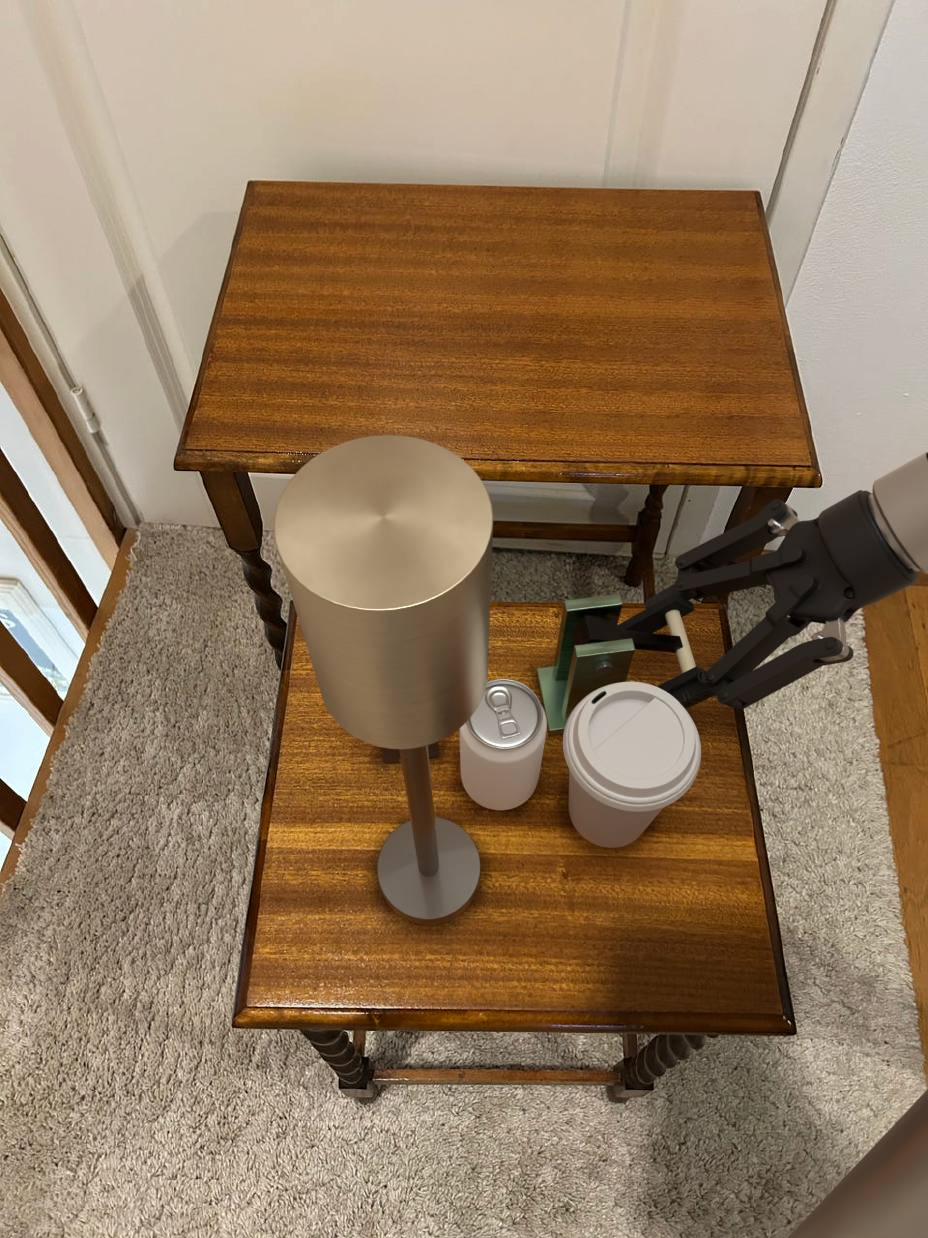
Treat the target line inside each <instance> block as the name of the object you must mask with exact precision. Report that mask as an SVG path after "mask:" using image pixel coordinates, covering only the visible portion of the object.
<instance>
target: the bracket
mask: <svg viewBox="0 0 928 1238" xmlns="http://www.w3.org/2000/svg"><path fill="white" fill-rule="evenodd" d="M623 605H624V603H623V600H622V596H621V593H616V594H606V595H599V596H591V597H582V598H581V597H580V598H574V599H566V600H563V605H562V612H561V618H560V624H559V631H558V637H557V643H556V649H555V656H554V661H553V665H552V666H545V667H543V666H542V667H537V668H536V673H535V675H536V681H537V686H538V692H539V696H540V703H541V705H542V707H543V709H544V712H545V715H546V721H547V729H546V732H547V735H548V737H553V736H559V735H564V729H565V726H566V723H567V720H568V718H569V716H570V714H571V712H572V711H573V710H574V708H575V707H576V706H577V705H578V704H579V702H581V701H582V700H583V699H584V698H585V697H586V696H587V695H589V694H590V693H592V692H593V691H595V690H597V689H599V688H601V687H604V686H607V685H610V684H614V683H621V682H627V678H628V674H629V671H630V669H631V664H632V662H633V658H634V655H635V651H636V649H635V647H634V643H633V639H632V638H631V639H623V640H615V641H607V642H599V643H591V644H583V645H575V646H574V642H573V638H572V633H571V630H572V629H573V628H574V627H575V626H576V625H577V624H578V623H579V622H580V620H581V619H582V618H583V617H584V616H585V615H591V616H600V617H609V618H616V619H617V623H618V624H619V621H620V617H621V612H622V610H623V609H622V608H623Z"/></svg>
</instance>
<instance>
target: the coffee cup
mask: <svg viewBox="0 0 928 1238" xmlns="http://www.w3.org/2000/svg"><path fill="white" fill-rule="evenodd" d="M656 686H657V685H653V684H650V683H646V682H641V681H625V682H621V683H614V684H610V685H607V686H604V687H601V688H599V689H597V690H595V691H593V692H592V693H590V694H589V695H587V696H586V697H585V698H584V699H583V700H582V701H581V702H579V704H578V705H577V706H576V707H575V708H574V710H573V711H572V712H571V714H570V716H569V718H568V720H567V723H566V726H565V729H564V734H562V735H563V737H562V749H563V755H564V760H565V762H566V765H567V768H568V814H569V818H570V821H571V823H572V825H573V827H574V829H575V830H576V831H577V833H578V834H579V835H580V837H582V838H583V839H585V840H586V841H587V842H589V843H591V844H593V845H595V846H598V847H601V848H607V849H616V848H622V847H625V846H628V845H630V844H632V843H634V842H635V841H637V839H639V837H641V835H642V834H643V833H644V832H645V830H646V829H647V828H648V827H649V826H650V825H651V823H652V822H653V821H654V820H655V819H656V817H657V816H658V815H659V814H660V813H661V812H662V810H663V809H664V808H665V807H667V806H670V805H671V804H673V803H674V802H676V801H677V800H679V799H681V797H683V796H684V795H685V794H686V793H687V792H688V791H689V790H690V788H691V787H692V785H694V782H695V780H696V778H697V776H698V773H699V772H700V771H699V770H700V767H701V762H702V745H701V738H700V735H699V731H698V729H697V725H696V724H695V722H694V720H693V719H692V717H691V715H690V714H689V712H688V711H687V710H686V709H687V708H684V707H683V706H682V705H681V704H680V703H679V702H678V701H677V700H676V699H675V698H674V697H673V696H672V695H670V694H669V693H667V692H666V691H664V690H662V689H660V688H658V687H656Z"/></svg>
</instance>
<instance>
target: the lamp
mask: <svg viewBox="0 0 928 1238" xmlns="http://www.w3.org/2000/svg"><path fill="white" fill-rule="evenodd" d="M493 532H494V511H493V504H492V501H491V497H490V494H489V492H488V489H487V487H486V485H485V483H484V482H483V480H482V479H481V477H480V476H479V474H478V473H477V472H476V471H475V469H473V467H472V466H471V465H470V464H469V463H468V462H466V460H464V459H463V458H462V457H460V456H459V455H457V454H456V453H454V452H453V451H451V450H450V449H448V448H446V447H443V446H442V445H440V444H437V443H435V442H432V441H430V440H426V439H422V438H419V437H415V436H414V437H413V436H408V435H399V434H382V435H381V434H380V435H369V436H363V437H359V438H355V439H351V440H347V441H345V442H342V443H339V444H336V445H334V446H332V447H330V448H327V449H326V450H324V451H322V452H321V453H319V454H318V455H316V456H315V457H313V458H311V459H310V460H308V461H307V462H306V463H305V464H304V465H303V466H302V467H300V468H299V470H297V472H296V473H295V474H294V475H293V476H292V477H291V479H290V480H289V482H288V483H287V484H286V486H285V487H284V489H283V491H282V492H281V494H280V496H279V500H278V502H277V504H276V509H275V512H274V517H273V537H274V544H275V548H276V550H277V554H278V557H279V560H280V563H281V566H282V571H283V573H284V576H285V580H286V584H287V586H288V590H289V594H290V597H291V600H292V603H293V607H294V609H295V613H296V616H297V620H298V622H299V626H300V629H301V632H302V636H303V639H304V643H305V647H306V649H307V652H308V656H309V659H310V662H311V666H312V669H313V672H314V676H315V679H316V682H317V685H318V688H319V691H320V695H321V698H322V701H323V703H324V705H325V708H326V709H327V711H328V713H329V714H330V716H331V718H332V719H333V720H334V721H335V722H336V723H337V724H338V725H339V727H340V728H342V729H343V730H344V731H345V732H346V733H348V734H350V735H351V736H352V737H354V738H356V739H358V740H360V741H362V742H363V743H366V744H369V745H372V746H375V747H379V748H381V747H383V748H389V749H399V752H400V756H399V759H400V763H401V769H402V777H403V783H404V787H405V793H406V800H407V806H408V807H407V808H408V813H409V818H410V820H408V821H406V822H404V823H402V824H400V825H399V826H397V827H396V828H395V829H394V830H393V831H392V832H391V833H390V834H389V835H388V836H387V838H386V839H385V841H384V842H383V843H382V846H381V848H380V851H379V853H378V856H377V857H378V858H377V861H376V877H377V881H378V885H379V889H380V892H381V894H382V897H383V899H384V901H385V902H386V904H387V906H388V907H389V908H390V909H391V910H392V912H393V913H394V914H396V915H397V916H398V917H400V918H401V919H403V920H405V921H407V922H409V923H412V924H415V925H419V926H426V927H427V926H429V927H431V926H439V925H443V924H446V923H449V922H451V921H453V920H455V919H456V918H458V917H459V916H461V915H463V913H464V912H465V911H467V909H468V908H469V907H470V906H471V905H472V903H473V901H474V900H475V898H476V895H477V894H478V891H479V888H480V884H481V876H482V863H481V857H480V852H479V849H478V846H477V845H476V842H475V841H474V839H473V838H472V836H471V835H470V834H469V833H468V832H467V831H466V830H465V829H464V828H463V827H462V826H461V825H459V824H457V823H456V822H454V821H452V820H450V819H447V818H444V817H441V816H440V817H439V816H436V815H435V805H434V797H433V786H432V777H431V776H432V775H431V767H430V765H431V764H430V758H429V754H428V745H429V744H432V743H435V742H438V743H439V741H442V740H444V739H446V738H447V737H449V736H451V735H452V734H454V733H456V732H457V731H458V730H460V727H462V726H463V725H464V724H465V723H466V722H467V721H468V720H469V719H470V718H471V716H472V715H473V714H474V712H475V711H476V709H477V708H478V706H479V704H480V702H481V700H482V698H483V695H484V692H485V689H486V684H487V682H488V674H489V649H490V623H491V622H490V621H491V591H492V590H491V589H492V565H493V564H492V561H493V539H494V538H493V535H494V533H493Z"/></svg>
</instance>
